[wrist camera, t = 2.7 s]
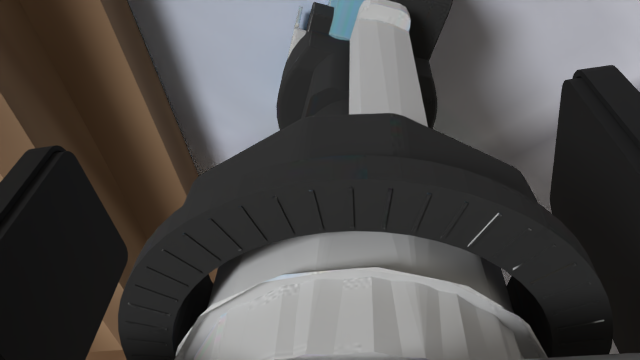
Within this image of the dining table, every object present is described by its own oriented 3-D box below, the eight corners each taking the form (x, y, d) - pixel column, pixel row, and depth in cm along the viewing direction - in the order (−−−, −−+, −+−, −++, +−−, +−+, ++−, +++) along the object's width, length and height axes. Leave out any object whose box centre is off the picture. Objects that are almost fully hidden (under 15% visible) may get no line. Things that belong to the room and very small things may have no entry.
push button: (403, 181, 16) (452, 599, 8) (226, 140, 15) (91, 549, 7) (505, -45, 12) (817, 358, 4) (268, -113, 11) (64, 199, 3)
